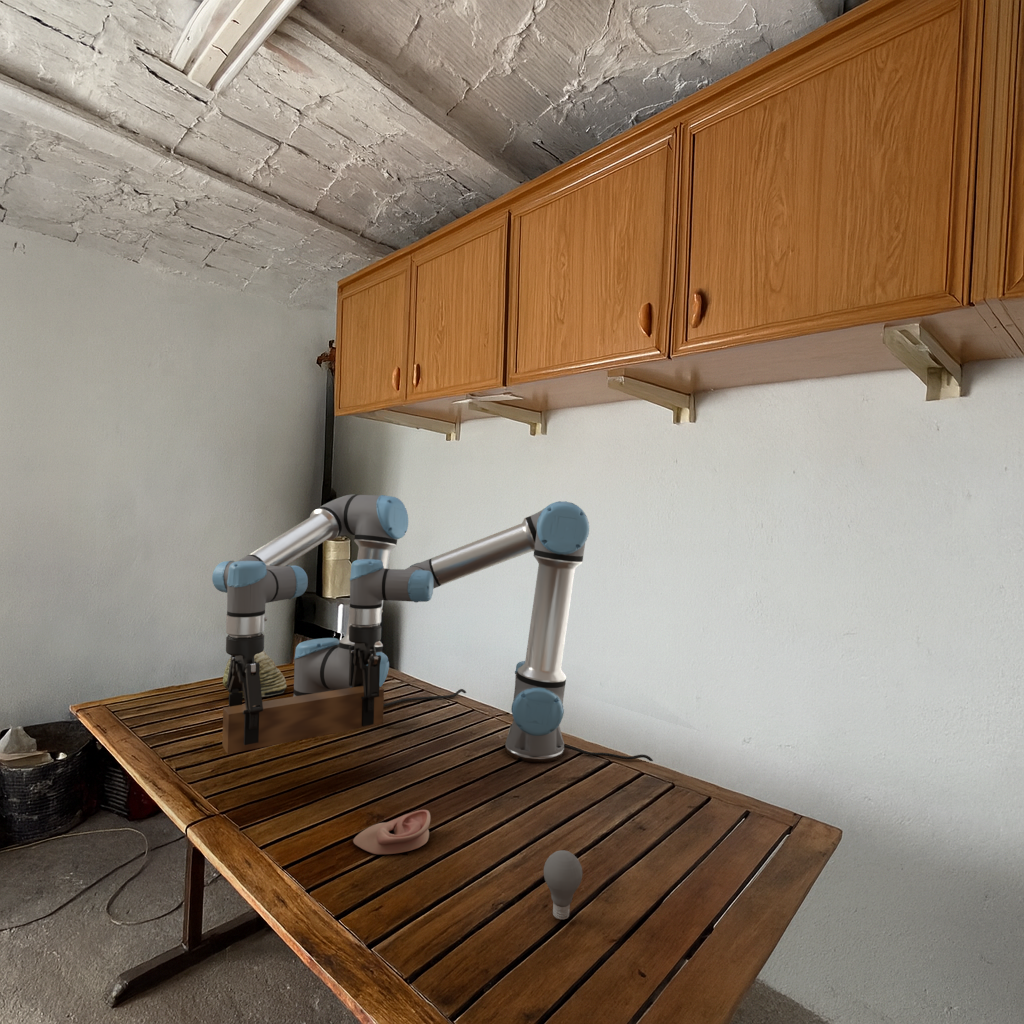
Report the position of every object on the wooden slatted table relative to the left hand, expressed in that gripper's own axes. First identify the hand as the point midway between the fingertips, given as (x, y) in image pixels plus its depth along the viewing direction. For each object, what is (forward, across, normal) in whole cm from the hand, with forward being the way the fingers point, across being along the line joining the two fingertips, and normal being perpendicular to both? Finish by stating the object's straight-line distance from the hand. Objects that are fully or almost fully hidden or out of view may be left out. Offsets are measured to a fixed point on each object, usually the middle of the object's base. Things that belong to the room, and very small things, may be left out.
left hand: (242, 732), depth 136 cm
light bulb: (+12, -70, -30) cm, 77 cm away
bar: (+3, 0, -14) cm, 14 cm away
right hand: (+2, 0, -27) cm, 27 cm away
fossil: (+13, +63, -19) cm, 67 cm away
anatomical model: (+12, -36, -18) cm, 42 cm away
